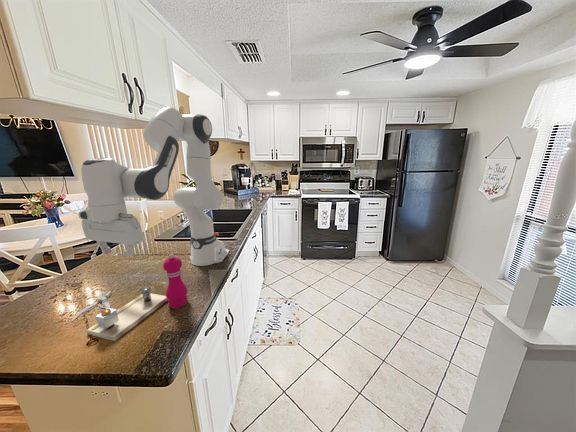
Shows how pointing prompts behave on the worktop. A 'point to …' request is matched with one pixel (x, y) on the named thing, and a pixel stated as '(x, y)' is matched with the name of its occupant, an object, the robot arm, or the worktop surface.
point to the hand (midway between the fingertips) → (117, 254)
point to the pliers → (100, 299)
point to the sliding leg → (107, 318)
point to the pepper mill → (175, 282)
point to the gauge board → (129, 317)
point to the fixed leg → (146, 293)
